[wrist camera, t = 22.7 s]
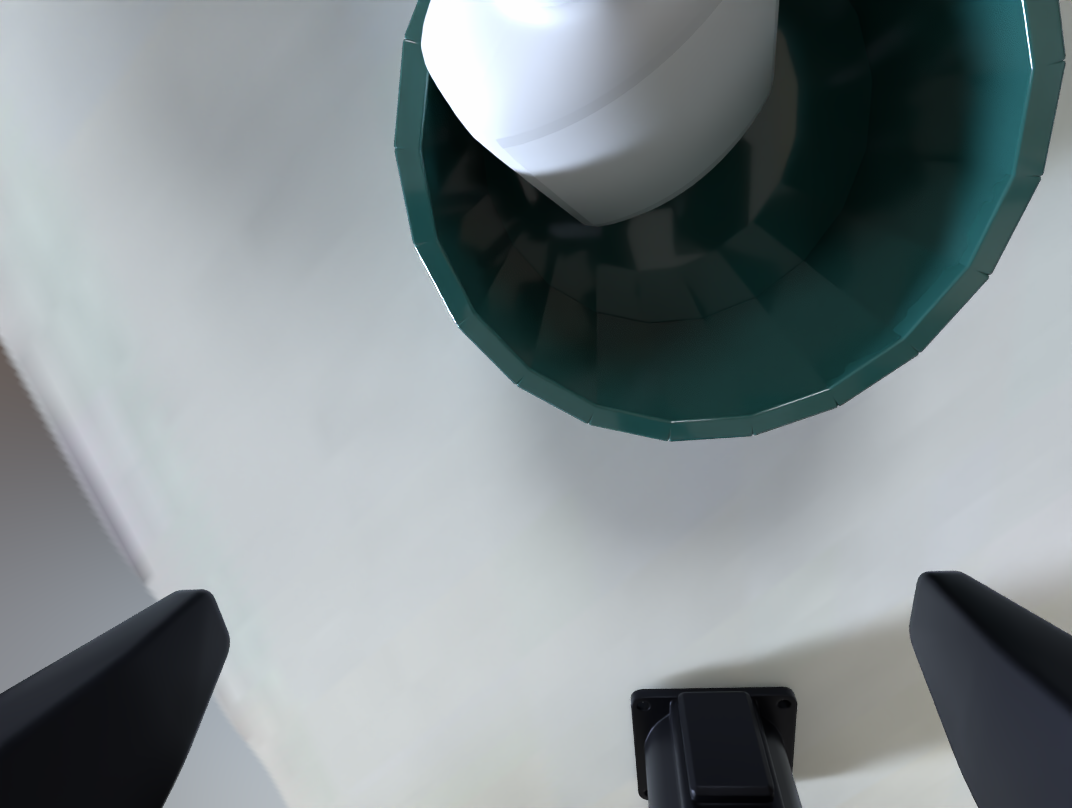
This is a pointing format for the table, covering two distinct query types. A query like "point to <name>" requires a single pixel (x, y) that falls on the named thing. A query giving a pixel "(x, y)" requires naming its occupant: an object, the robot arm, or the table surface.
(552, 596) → the table surface
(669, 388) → the canister
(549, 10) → the eye dropper bottle
